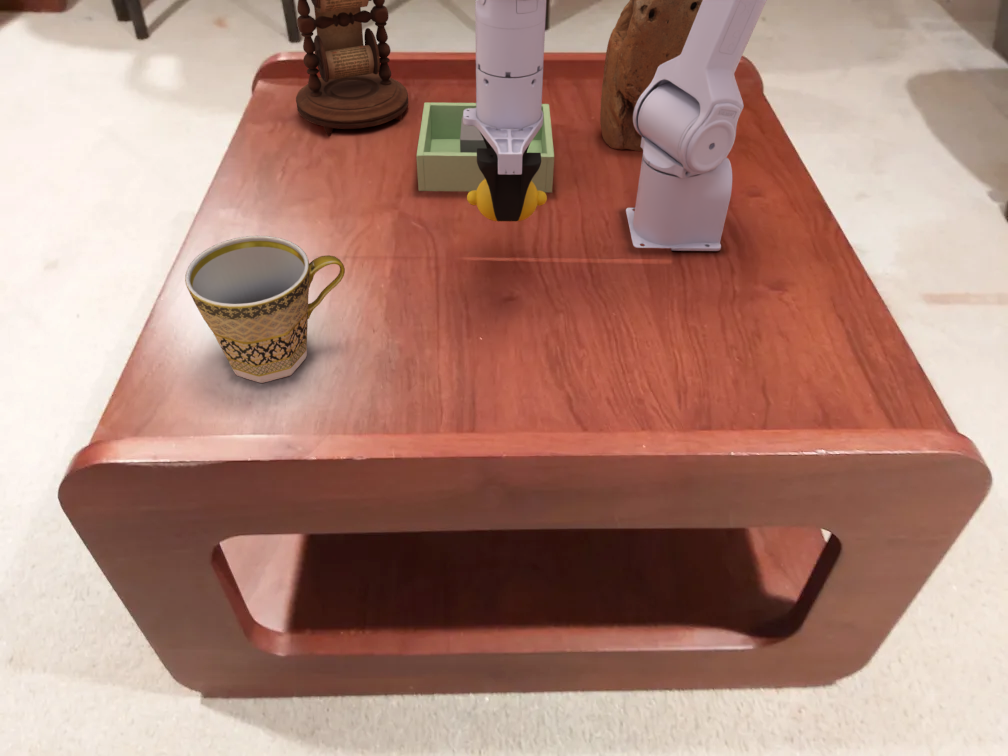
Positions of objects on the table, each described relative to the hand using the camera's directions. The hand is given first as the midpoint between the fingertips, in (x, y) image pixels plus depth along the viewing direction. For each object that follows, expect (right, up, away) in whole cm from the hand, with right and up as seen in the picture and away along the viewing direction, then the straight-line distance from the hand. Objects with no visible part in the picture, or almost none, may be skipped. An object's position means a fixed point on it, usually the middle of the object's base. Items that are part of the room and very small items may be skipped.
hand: (507, 204), depth 78 cm
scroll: (-21, +19, +33) cm, 43 cm away
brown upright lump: (+17, +14, +28) cm, 36 cm away
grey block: (-2, +10, +22) cm, 24 cm away
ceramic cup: (-20, -15, -3) cm, 25 cm away
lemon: (0, -1, +1) cm, 1 cm away
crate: (-2, +9, +23) cm, 25 cm away
